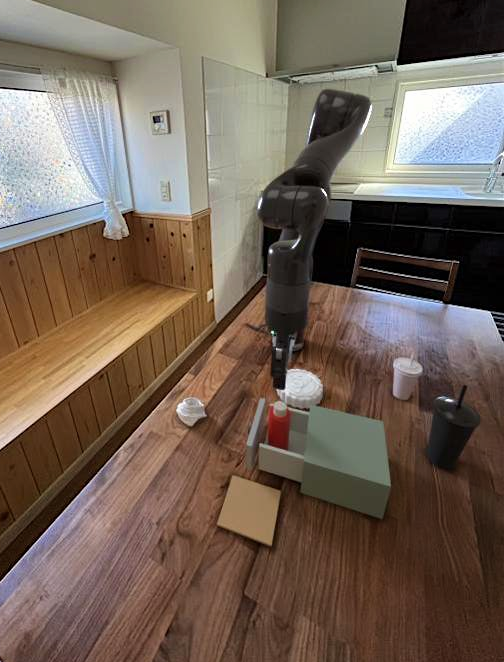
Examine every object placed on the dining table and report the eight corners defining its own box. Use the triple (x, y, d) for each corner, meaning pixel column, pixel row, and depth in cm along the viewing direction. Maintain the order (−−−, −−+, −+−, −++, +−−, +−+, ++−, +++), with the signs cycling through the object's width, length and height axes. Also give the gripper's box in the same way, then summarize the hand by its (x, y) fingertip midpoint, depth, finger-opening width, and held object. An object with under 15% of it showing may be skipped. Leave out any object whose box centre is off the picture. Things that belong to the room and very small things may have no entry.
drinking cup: (411, 445, 75) (431, 374, 67) (443, 441, 75) (468, 370, 67) (436, 477, 68) (462, 403, 60) (471, 473, 68) (502, 398, 60)
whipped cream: (172, 417, 86) (168, 403, 84) (189, 400, 90) (186, 386, 88) (194, 432, 81) (191, 417, 79) (212, 413, 85) (209, 399, 83)
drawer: (240, 467, 71) (240, 443, 68) (255, 419, 82) (255, 396, 79) (313, 490, 66) (316, 465, 63) (317, 435, 77) (320, 412, 74)
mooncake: (291, 371, 99) (292, 361, 97) (330, 391, 91) (331, 380, 89) (267, 393, 91) (268, 382, 90) (307, 417, 83) (308, 406, 82)
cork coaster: (217, 525, 62) (216, 524, 61) (232, 476, 70) (232, 474, 70) (271, 547, 58) (271, 545, 58) (281, 492, 67) (281, 490, 66)
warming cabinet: (300, 492, 66) (303, 461, 63) (307, 433, 79) (310, 404, 75) (382, 519, 61) (391, 486, 58) (376, 451, 74) (383, 421, 70)
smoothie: (418, 405, 85) (431, 360, 79) (391, 402, 86) (401, 358, 80) (409, 387, 90) (420, 344, 85) (384, 384, 92) (393, 342, 86)
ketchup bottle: (263, 447, 74) (265, 406, 69) (275, 434, 77) (277, 394, 72) (280, 459, 71) (283, 417, 66) (292, 446, 74) (295, 405, 69)
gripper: (272, 281, 66) (270, 348, 73) (256, 317, 54) (255, 394, 61) (312, 285, 64) (306, 355, 70) (304, 324, 52) (298, 404, 58)
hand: (282, 373), depth 66 cm, fingers open, 8 cm apart
